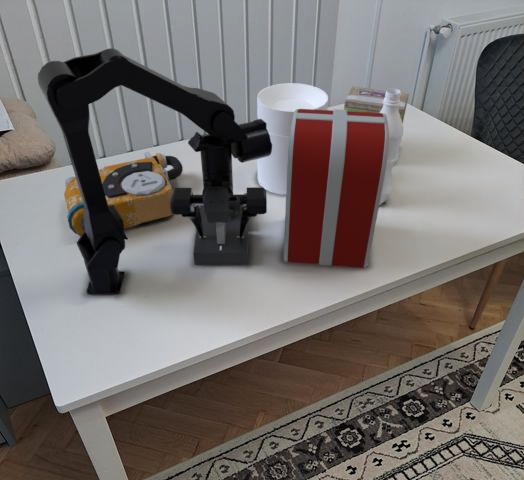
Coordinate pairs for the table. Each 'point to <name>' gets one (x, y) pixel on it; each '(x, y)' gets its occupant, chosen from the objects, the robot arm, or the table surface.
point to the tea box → (371, 101)
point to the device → (129, 190)
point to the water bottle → (391, 137)
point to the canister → (283, 127)
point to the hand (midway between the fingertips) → (221, 236)
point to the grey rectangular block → (221, 232)
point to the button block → (232, 219)
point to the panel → (221, 246)
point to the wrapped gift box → (334, 185)
